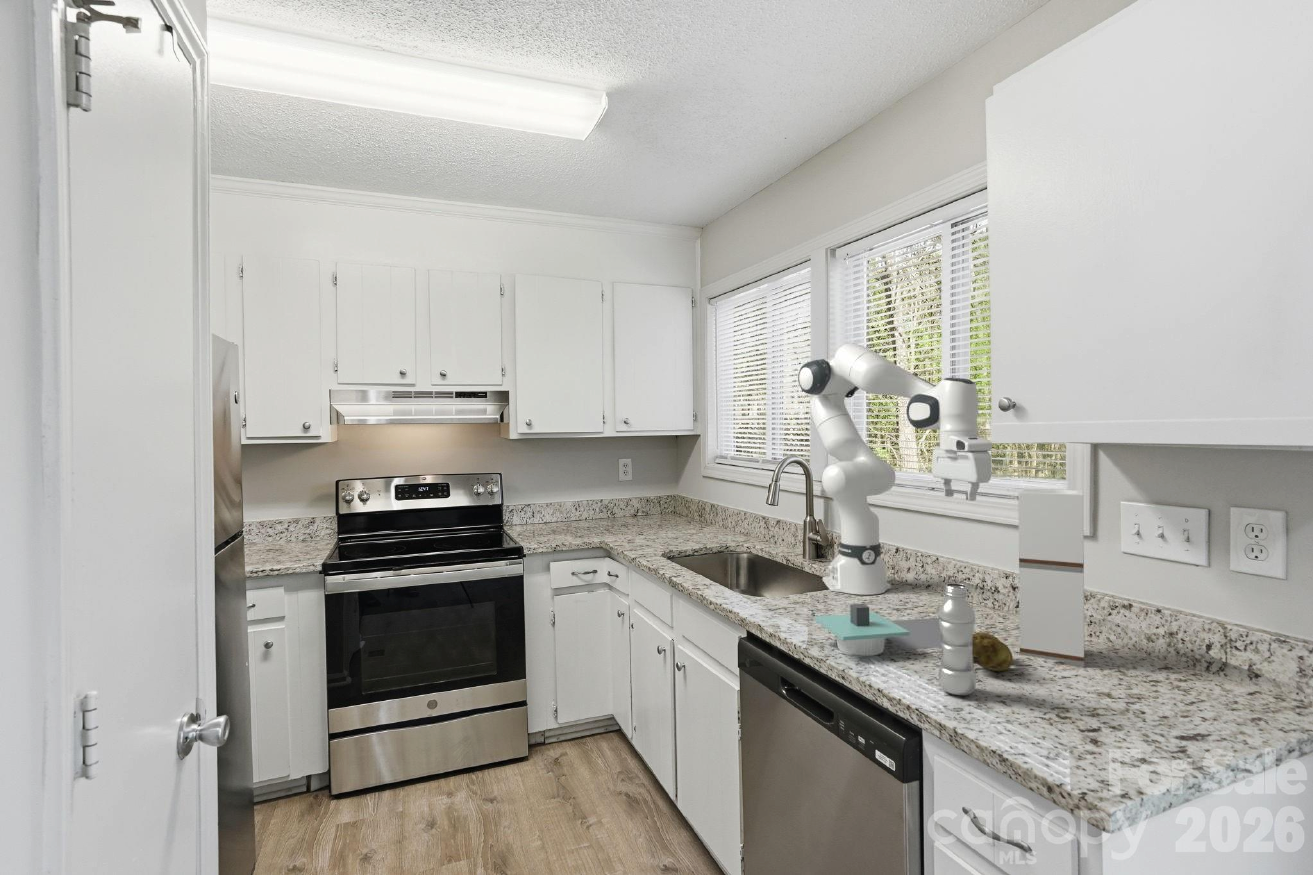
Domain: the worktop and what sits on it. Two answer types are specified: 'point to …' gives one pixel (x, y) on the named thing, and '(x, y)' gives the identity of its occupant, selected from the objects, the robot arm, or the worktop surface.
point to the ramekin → (861, 646)
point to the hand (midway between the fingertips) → (959, 498)
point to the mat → (919, 634)
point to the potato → (990, 652)
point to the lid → (860, 624)
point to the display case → (1051, 575)
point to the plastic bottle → (956, 642)
